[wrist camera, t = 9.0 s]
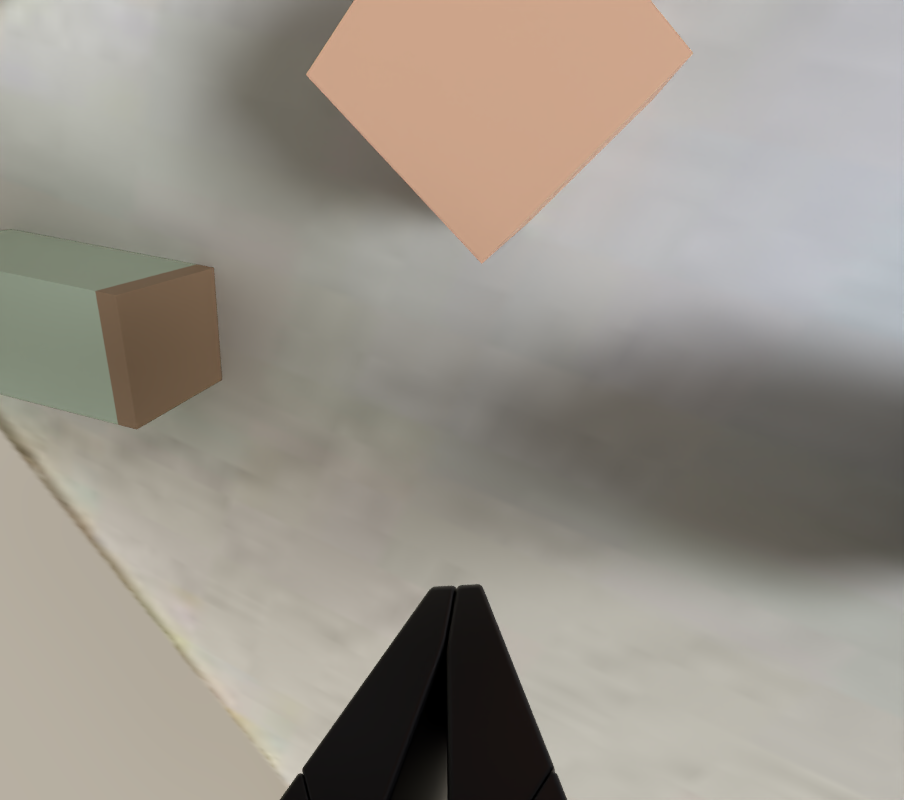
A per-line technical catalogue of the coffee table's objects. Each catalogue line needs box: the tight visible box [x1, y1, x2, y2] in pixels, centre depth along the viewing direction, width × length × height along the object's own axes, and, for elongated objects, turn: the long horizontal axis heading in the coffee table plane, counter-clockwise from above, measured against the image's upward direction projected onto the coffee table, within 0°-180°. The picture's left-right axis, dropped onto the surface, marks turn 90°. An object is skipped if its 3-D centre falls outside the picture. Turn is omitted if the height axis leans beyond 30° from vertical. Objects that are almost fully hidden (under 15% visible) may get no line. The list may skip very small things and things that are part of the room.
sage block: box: [0, 229, 222, 429], centre depth 22 cm, size 5×5×10 cm
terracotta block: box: [306, 0, 693, 263], centre depth 13 cm, size 5×5×8 cm
